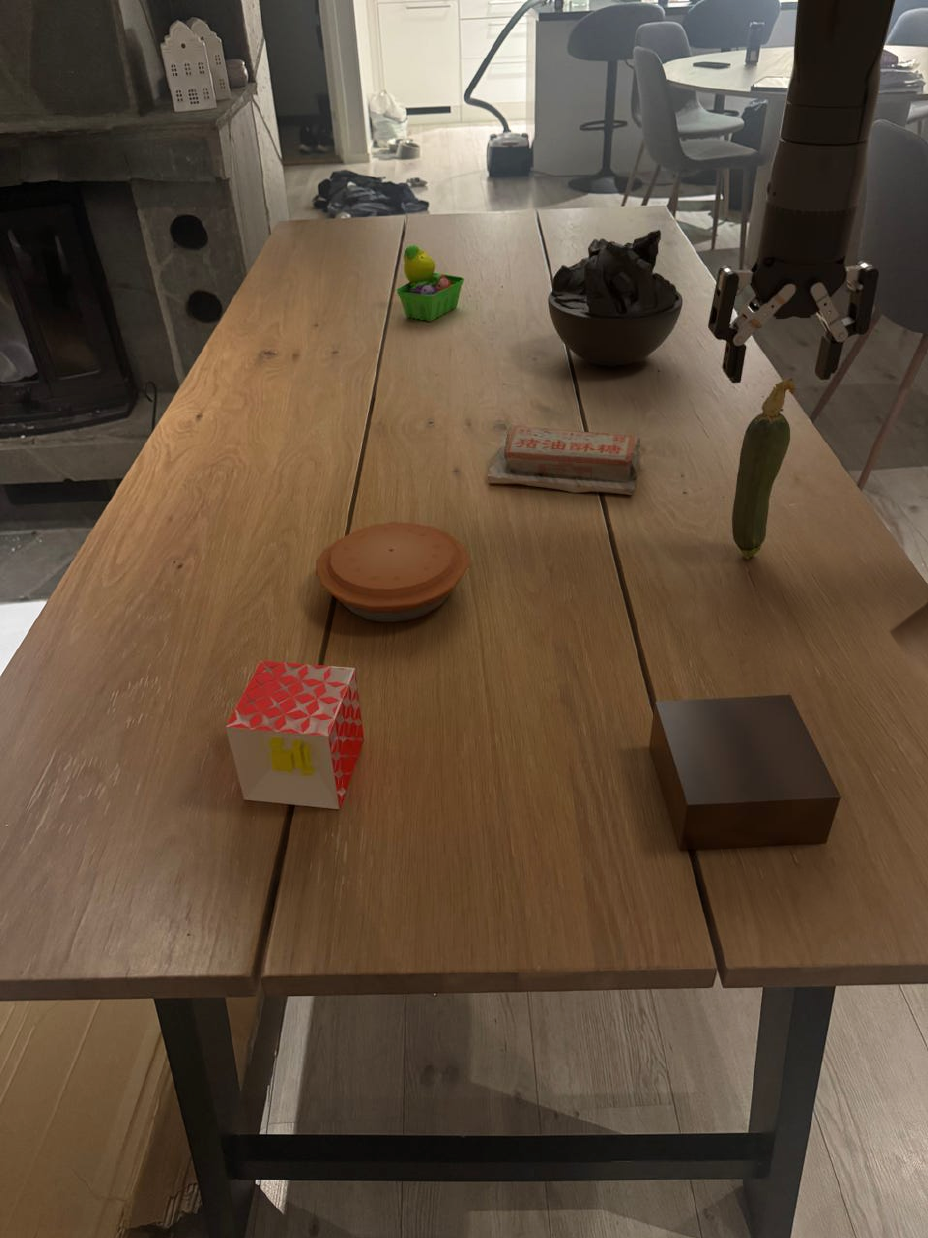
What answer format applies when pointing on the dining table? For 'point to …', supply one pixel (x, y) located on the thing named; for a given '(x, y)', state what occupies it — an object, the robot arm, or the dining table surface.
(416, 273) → the fruit basket
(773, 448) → the vegetable
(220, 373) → the dining table surface
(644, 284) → the bowl of black rocks
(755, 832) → the block
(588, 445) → the packaged product
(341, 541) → the pie
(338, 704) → the red patterned cube box
